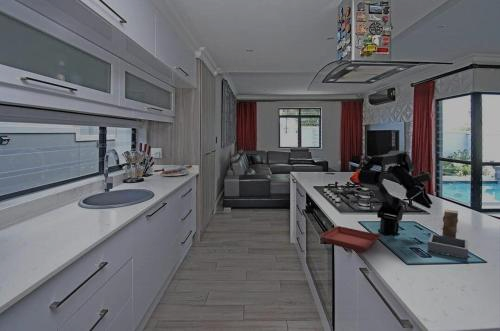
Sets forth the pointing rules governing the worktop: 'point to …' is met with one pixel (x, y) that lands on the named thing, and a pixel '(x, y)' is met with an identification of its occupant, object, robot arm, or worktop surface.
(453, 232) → the handle block
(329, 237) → the plant saucer
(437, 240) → the box
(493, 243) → the worktop surface
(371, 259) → the worktop surface
